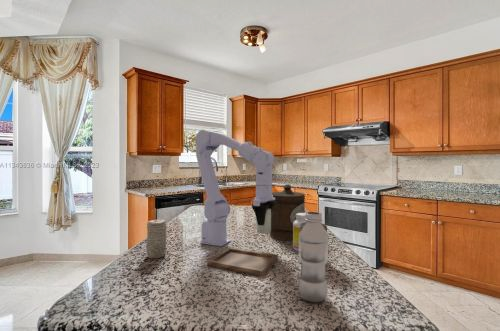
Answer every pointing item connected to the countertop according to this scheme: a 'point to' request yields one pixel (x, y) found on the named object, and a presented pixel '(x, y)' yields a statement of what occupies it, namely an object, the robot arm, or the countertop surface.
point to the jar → (300, 247)
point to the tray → (243, 261)
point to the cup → (267, 225)
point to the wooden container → (285, 212)
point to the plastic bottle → (313, 259)
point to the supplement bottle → (297, 229)
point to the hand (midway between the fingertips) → (263, 223)
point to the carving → (156, 238)
